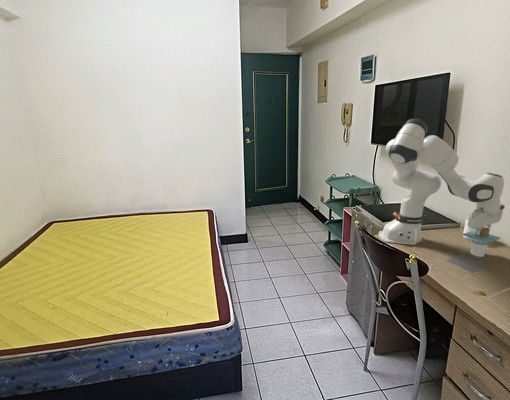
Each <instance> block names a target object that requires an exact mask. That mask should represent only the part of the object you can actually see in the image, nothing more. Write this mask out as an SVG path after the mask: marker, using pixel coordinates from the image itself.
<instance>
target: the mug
mask: <svg viewBox="0 0 510 400" xmlns="http://www.w3.org/2000/svg"><path fill="white" fill-rule="evenodd" d="M469 218H470V217H467V218H465V223H464V228H463V233H462V236H463V238H464V239H467V240H469V241H472V240H474V239H472V238H469V237H467V236H464V235H463V234H464V233H467V232H471V231H474V230H476V229H473V228H470V227H468V221H469Z"/></svg>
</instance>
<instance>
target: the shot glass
mask: <svg viewBox="0 0 510 400" xmlns="http://www.w3.org/2000/svg"><path fill="white" fill-rule="evenodd" d="M470 244H471V245H470V254H471V255H472V256H475V257H481V258H482V257H485V255H486V252H487V249H488V248H487V247H488V245H489V243H483V242H480V241H478V240H475V239H474V240H471V243H470Z"/></svg>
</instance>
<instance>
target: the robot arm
mask: <svg viewBox="0 0 510 400" xmlns="http://www.w3.org/2000/svg"><path fill="white" fill-rule="evenodd" d="M427 132H428V124H426V122H425V121H423V120H421V119H419V118H410V119H408V120H407V121H406V122H405V123H404V124H403V125H402V128H400V130H399V131H398V132H397V134H396V136H395V138H393V139H391V140H389V141H388V142H387V144H386V146H385V152H386V155H387V157H388V159H389V161H390V163H391V164H392V166H393V168H394V172H393V173H392V182H393V184H394V185H397V186H399V187H400V188H403V189H407V190H410V191H411V193H410V195H407V196H405V197H404V198H402V199H401V202H400V210H399V213H397V212H396V211H395V212H393V213H392V215H393V216H394V217H395V218H394V219H393V220H391V221H390V222H387V223H386V224H385V225H384V226H383V229H382V230H379V232H378V237H379V238H380V240H381V241H383V242H386V243H390V244H400V245H402V244H403V245H409V246H410V245H412V246H415V245H417V244H418V243H421V242H422V241H423V238H422V229H421V228H422V224H423V218H424V217H423V212H424V206H425V203H426V201H427V200H428V198H429V197H430V196H431V195H433V194H435V193H437V192H438V191H439V190H440V188H441V185H442V181H441V180H443V181H444V182H445V184H446V186H447V189H448V192H449V194H451V195H453V196H455V197H459V198H461V199H464V200H466V201H469V202H472V203H476V207H475V209H474V211H472V212H471V213H470V215H469V217H468V218H469V221H468V227H470V228H473V229H476V234H477V235H480V234H481V233H482V231H481V228H482V227H486V228H489V229H491V226H492V225H494V224H497V223H499V222H500V221H501V220H502V216H503V213H504V212H503V211H504V210H505V207H506V205H505V204H502V203H501V196H502V194H503V192H504V191H503V190H504V185H505V179H504V177H503V175H501V174H497V173H493V172H492V173H491V172H484V174H483V175H482V176H480V177H479V178H477V179H472V178H469V177H466V176H463V175H461V174H460V175H459V174H458V172H457V171H456V170H455V168H456V167H457V166H458V164H459V159H460V158H459V156H458V154H457V153H456V151H455V150H454V149H453V148H452V147H451V146H450V145H449V144H448V143H447V142H446V141H445V140H443V139H442V138H440V137H439V136H437V135H433V134H432V135H427ZM426 135H427V136H426ZM418 157H420V158H422V159H423V160H425V162H426V163H427V164H428V165H429V166H430V167H431V168H432V169H433V170H434V171H436V173H438V175H436V174H435V173H432V172H429V171H423V170H420V169H417V168H418V167H419V160H418Z"/></svg>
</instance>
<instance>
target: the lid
mask: <svg viewBox="0 0 510 400" xmlns="http://www.w3.org/2000/svg"><path fill="white" fill-rule="evenodd" d="M490 230H491V228H486V227H485V226H483V227H482V228H481V231H482V233H481V234H480V235H477V234H476V230H474V231H471V232H467V233H464V234H463V233H462V236H463V235H464V236H467V237H469V238H472V239H475V240H478V241H480V242H483V243H488V244H489V243H492V242H495V241H498V240H501V237H499V236H497V235H494V234H491V233H490Z"/></svg>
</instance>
